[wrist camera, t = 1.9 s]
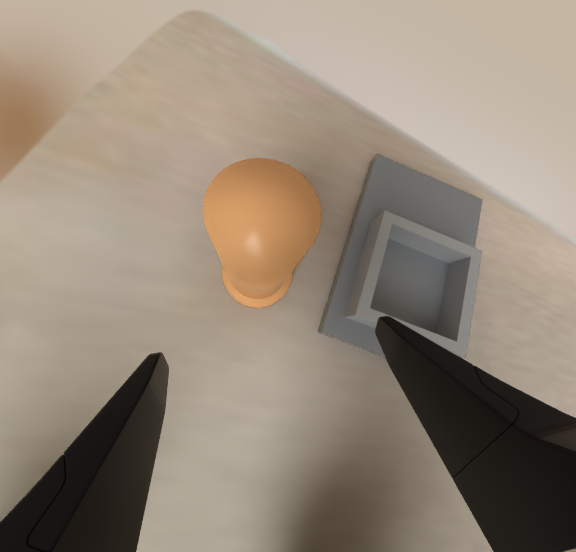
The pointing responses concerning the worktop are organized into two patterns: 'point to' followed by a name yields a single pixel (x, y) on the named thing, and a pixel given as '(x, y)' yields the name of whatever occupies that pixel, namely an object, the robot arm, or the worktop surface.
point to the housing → (407, 261)
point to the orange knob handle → (260, 227)
